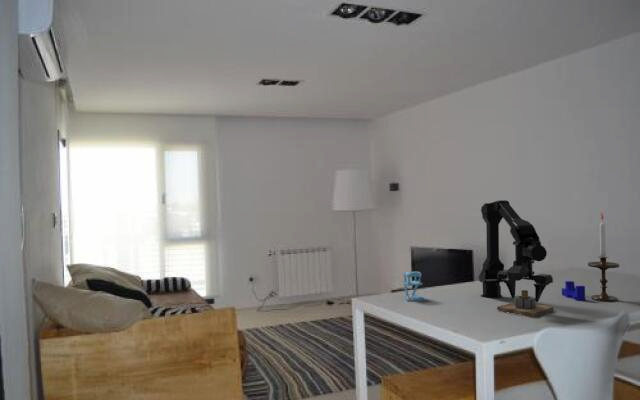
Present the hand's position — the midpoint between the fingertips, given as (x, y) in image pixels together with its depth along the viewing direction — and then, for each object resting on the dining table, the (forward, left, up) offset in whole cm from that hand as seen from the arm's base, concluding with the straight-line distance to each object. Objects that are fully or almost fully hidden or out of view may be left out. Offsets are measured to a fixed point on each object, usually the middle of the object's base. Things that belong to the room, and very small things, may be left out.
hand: (524, 300), depth 177 cm
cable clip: (+1, +35, -4) cm, 35 cm away
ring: (0, 0, -2) cm, 3 cm away
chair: (-43, -13, -4) cm, 45 cm away
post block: (0, 0, -4) cm, 4 cm away
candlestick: (+11, +40, -4) cm, 42 cm away
